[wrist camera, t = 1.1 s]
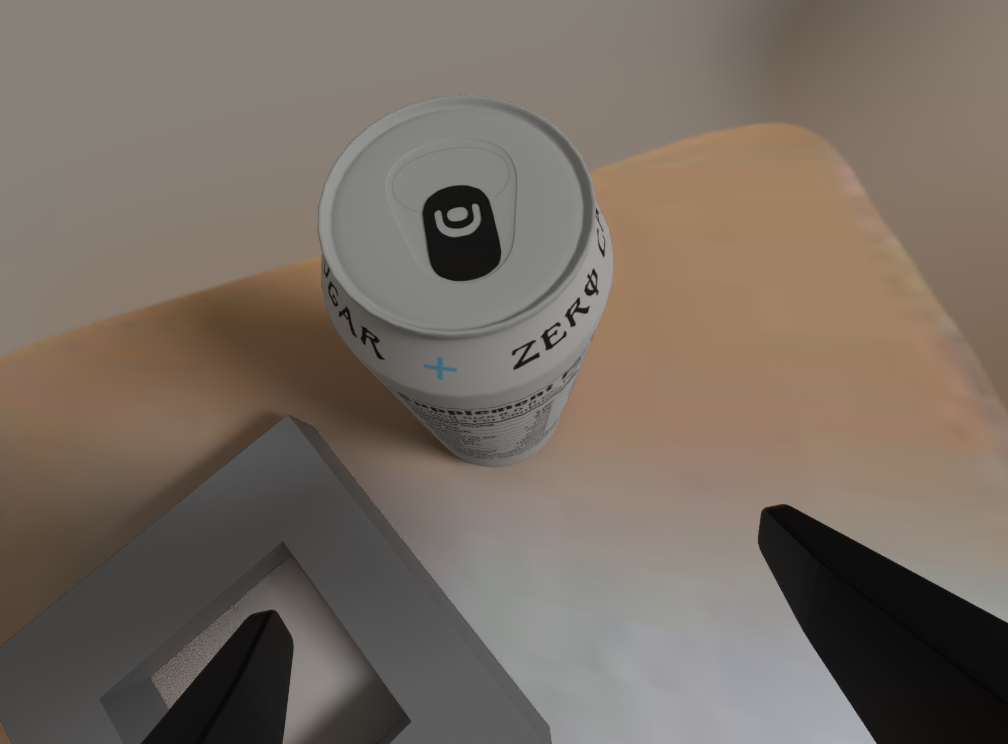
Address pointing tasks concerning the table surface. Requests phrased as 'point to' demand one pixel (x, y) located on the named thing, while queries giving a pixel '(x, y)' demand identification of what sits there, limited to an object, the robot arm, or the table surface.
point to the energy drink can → (467, 268)
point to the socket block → (229, 576)
